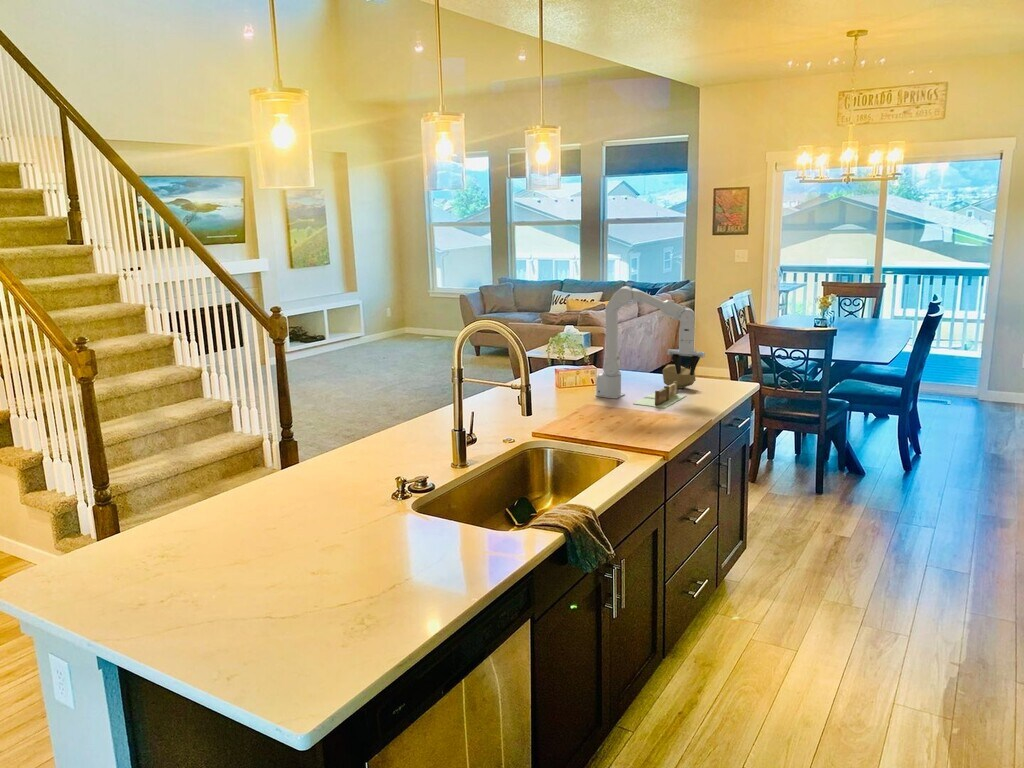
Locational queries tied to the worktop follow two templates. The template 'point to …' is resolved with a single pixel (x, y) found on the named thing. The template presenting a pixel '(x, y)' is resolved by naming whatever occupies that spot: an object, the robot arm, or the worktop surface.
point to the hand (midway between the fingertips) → (685, 374)
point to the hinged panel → (673, 389)
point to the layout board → (651, 402)
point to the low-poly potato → (678, 376)
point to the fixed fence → (661, 395)
